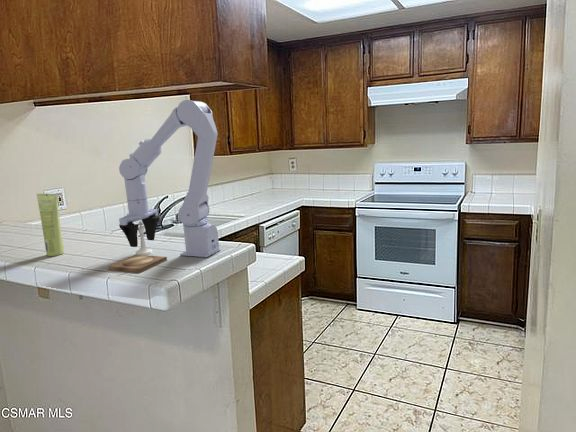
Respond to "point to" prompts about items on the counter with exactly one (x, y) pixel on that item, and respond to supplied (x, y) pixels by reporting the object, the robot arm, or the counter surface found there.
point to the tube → (50, 224)
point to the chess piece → (142, 242)
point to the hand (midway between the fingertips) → (142, 243)
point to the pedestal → (137, 263)
